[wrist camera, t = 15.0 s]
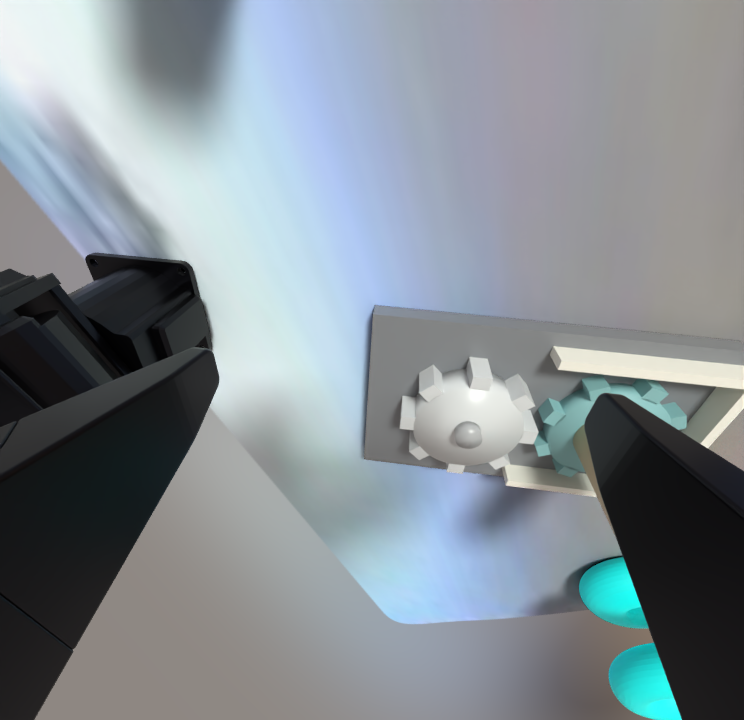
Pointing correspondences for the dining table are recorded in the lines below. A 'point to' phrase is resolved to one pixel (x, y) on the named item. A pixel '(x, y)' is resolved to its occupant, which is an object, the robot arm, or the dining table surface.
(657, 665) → the donuts
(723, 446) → the dining table surface
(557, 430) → the gear
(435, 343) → the carrier plate
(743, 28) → the dining table surface
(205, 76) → the dining table surface
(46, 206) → the dining table surface
